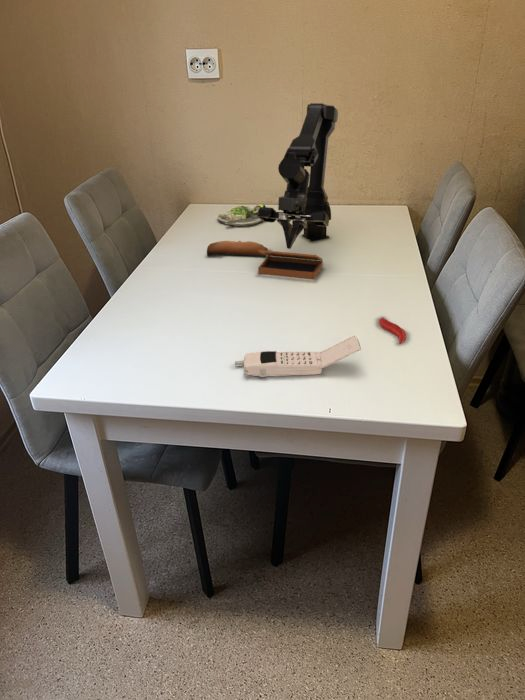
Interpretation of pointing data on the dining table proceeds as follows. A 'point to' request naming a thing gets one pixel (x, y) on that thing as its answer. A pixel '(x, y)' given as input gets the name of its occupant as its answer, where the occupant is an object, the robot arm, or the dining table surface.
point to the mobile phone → (296, 360)
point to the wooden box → (290, 273)
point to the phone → (291, 266)
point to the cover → (291, 255)
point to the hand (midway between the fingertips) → (288, 248)
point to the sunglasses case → (235, 248)
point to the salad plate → (241, 216)
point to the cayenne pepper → (393, 329)
